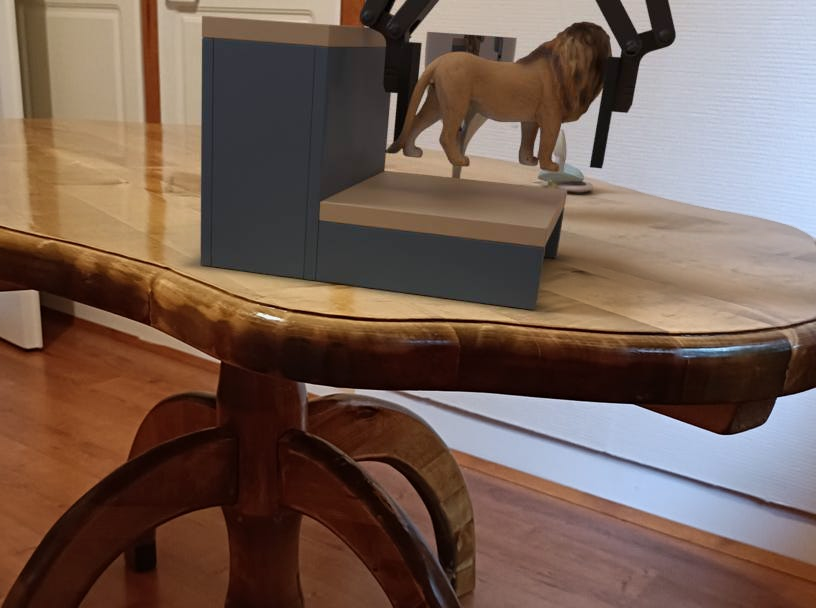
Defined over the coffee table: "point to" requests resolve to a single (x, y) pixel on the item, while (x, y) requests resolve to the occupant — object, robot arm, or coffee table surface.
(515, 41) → the wine glass
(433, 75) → the lion figurine
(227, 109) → the two-step block
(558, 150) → the pacifier
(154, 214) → the coffee table surface
